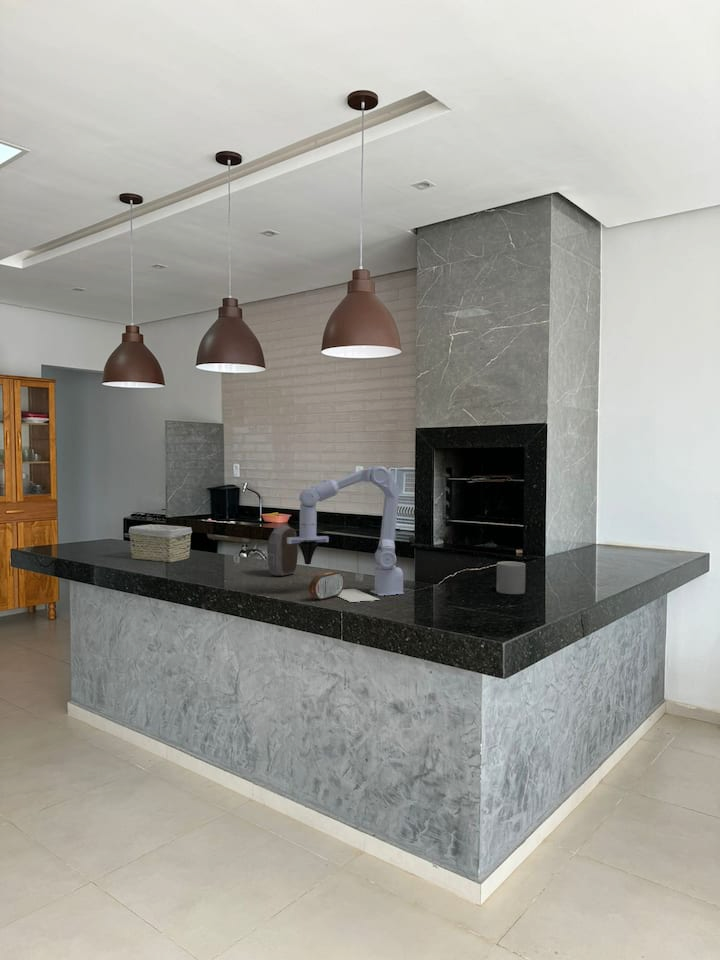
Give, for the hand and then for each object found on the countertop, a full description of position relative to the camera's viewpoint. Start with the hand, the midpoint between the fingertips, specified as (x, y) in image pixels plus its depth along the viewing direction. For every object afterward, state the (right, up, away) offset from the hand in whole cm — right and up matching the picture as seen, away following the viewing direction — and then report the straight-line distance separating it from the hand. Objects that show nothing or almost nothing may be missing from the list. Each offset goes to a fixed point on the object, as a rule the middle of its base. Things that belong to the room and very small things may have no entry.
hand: (307, 563), depth 240 cm
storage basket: (-72, -7, +77) cm, 105 cm away
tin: (+7, -11, -6) cm, 14 cm away
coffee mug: (+72, -11, +12) cm, 74 cm away
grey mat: (+15, -11, -2) cm, 19 cm away
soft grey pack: (-13, -9, +39) cm, 42 cm away
